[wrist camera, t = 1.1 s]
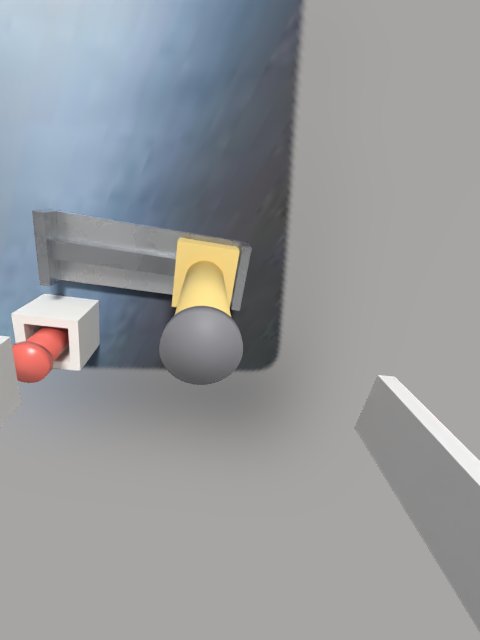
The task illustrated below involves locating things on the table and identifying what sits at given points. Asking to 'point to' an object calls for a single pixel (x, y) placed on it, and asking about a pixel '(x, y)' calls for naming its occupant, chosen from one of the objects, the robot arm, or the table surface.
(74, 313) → the white button housing
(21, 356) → the button
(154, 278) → the rail
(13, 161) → the table surface
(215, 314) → the sliding lever handle
